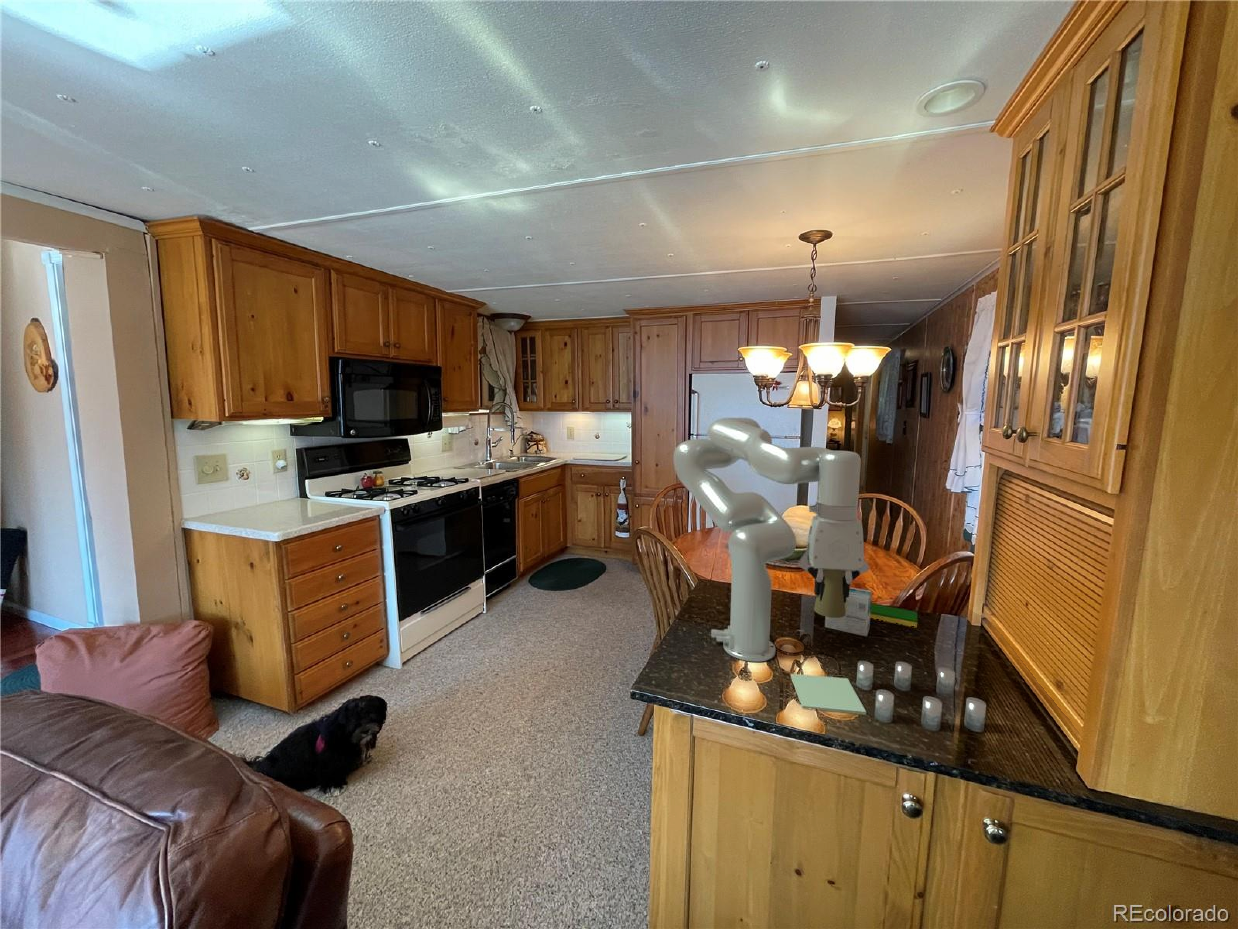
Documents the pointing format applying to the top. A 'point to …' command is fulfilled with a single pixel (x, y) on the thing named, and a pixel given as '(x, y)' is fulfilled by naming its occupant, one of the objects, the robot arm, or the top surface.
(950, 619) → the top surface
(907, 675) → the spacer field
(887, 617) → the dish sponge
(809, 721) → the top surface
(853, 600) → the light bulb box
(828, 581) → the olive rounded piece
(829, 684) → the mat
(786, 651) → the top surface
